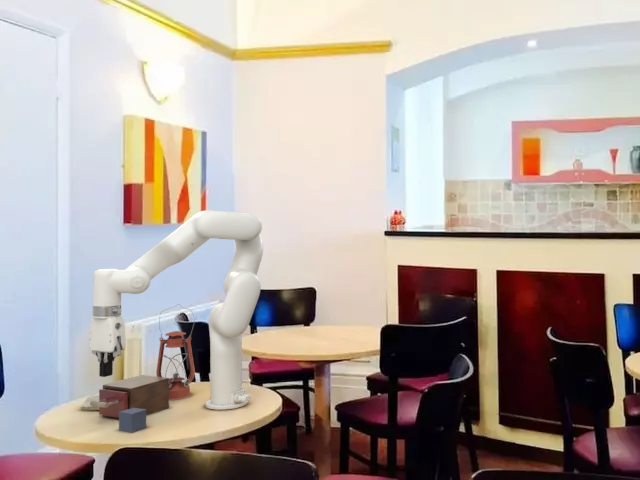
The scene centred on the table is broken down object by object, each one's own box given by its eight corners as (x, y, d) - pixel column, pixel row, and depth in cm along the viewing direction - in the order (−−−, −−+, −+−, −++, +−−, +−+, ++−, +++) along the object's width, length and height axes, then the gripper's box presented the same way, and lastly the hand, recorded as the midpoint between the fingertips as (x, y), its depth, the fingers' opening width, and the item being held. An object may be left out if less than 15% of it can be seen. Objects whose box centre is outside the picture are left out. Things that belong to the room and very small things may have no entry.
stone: (115, 412, 207) (115, 403, 207) (77, 415, 204) (77, 406, 204) (122, 399, 221) (122, 391, 221) (86, 402, 219) (86, 394, 219)
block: (146, 427, 190) (146, 409, 191) (131, 432, 186) (131, 414, 186) (133, 425, 193) (133, 407, 193) (118, 430, 188) (118, 412, 188)
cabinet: (130, 420, 198) (130, 388, 198) (102, 415, 203) (102, 384, 203) (169, 407, 211) (168, 378, 211) (141, 403, 216) (141, 374, 216)
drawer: (110, 423, 192) (110, 396, 192) (84, 419, 197) (84, 393, 197) (160, 406, 208) (160, 382, 209) (136, 403, 213) (135, 379, 213)
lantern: (183, 390, 232) (183, 301, 233) (197, 396, 225) (196, 304, 226) (155, 396, 226) (155, 304, 226) (168, 401, 218) (167, 307, 219)
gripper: (135, 311, 198) (135, 375, 198) (99, 309, 205) (98, 371, 204) (114, 314, 192) (113, 381, 191) (77, 311, 198) (76, 375, 197)
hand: (105, 375), depth 198 cm, fingers closed
